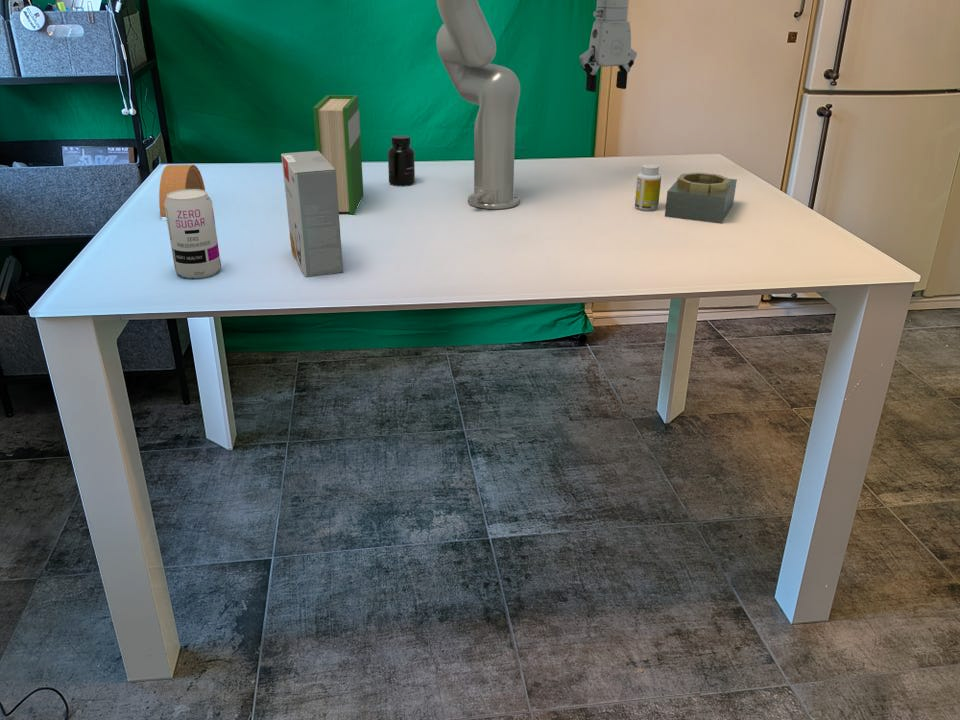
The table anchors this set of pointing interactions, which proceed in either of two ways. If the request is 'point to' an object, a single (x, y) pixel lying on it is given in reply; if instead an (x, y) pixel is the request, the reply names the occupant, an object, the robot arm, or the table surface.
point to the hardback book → (341, 145)
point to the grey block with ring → (700, 197)
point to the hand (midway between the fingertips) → (606, 89)
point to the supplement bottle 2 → (648, 188)
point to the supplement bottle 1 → (401, 161)
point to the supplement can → (192, 233)
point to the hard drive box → (313, 212)
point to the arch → (178, 181)
